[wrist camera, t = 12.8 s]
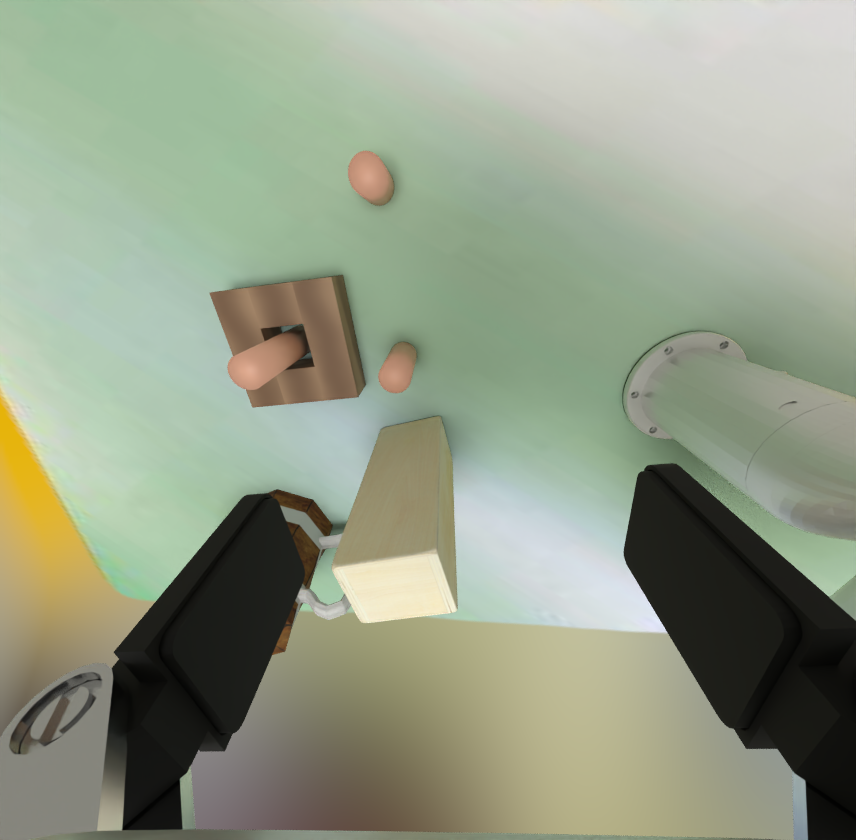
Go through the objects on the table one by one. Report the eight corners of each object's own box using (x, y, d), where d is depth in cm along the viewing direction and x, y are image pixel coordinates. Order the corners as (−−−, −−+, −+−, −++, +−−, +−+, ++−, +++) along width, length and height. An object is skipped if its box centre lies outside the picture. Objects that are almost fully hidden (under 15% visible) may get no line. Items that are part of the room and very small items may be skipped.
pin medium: (414, 340, 37) (408, 360, 30) (418, 366, 38) (413, 391, 31) (388, 343, 37) (375, 363, 30) (392, 369, 39) (381, 394, 31)
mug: (257, 558, 53) (194, 660, 40) (230, 490, 47) (146, 582, 34) (379, 557, 52) (357, 662, 39) (367, 487, 46) (336, 581, 33)
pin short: (391, 164, 30) (382, 147, 26) (396, 203, 32) (388, 194, 27) (358, 169, 30) (344, 154, 26) (365, 207, 32) (352, 199, 27)
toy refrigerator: (396, 475, 45) (363, 631, 26) (379, 428, 42) (328, 566, 23) (453, 463, 44) (462, 618, 25) (440, 414, 41) (439, 548, 22)
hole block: (342, 275, 34) (331, 277, 31) (365, 384, 40) (358, 397, 36) (233, 289, 35) (209, 292, 32) (269, 394, 41) (252, 407, 37)
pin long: (312, 324, 37) (257, 352, 26) (319, 350, 38) (270, 388, 27) (286, 327, 37) (221, 356, 26) (294, 353, 38) (235, 391, 27)
